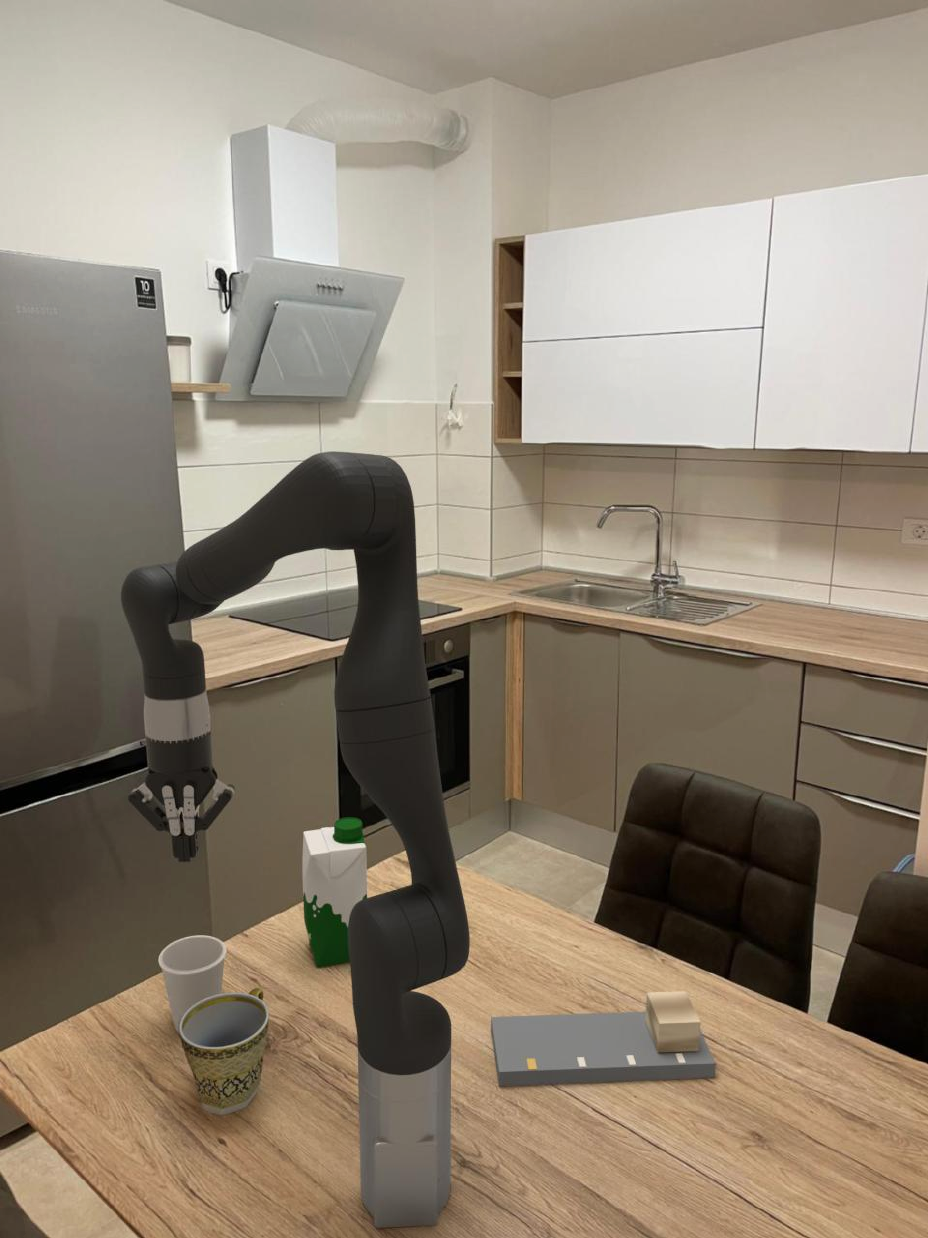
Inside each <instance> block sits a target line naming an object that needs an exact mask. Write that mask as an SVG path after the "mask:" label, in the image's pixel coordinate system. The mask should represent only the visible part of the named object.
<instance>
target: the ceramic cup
mask: <svg viewBox="0 0 928 1238" xmlns="http://www.w3.org/2000/svg"><path fill="white" fill-rule="evenodd" d="M269 1011H270V1010H269V1008H268V1007H267V1005H266V1004H265V1002H264V992H263V990H262V989H261V988H258V987H255V988H253V989H251V990H250V991H249V992H248V993H244V992H238V991H237V992H233V991H232V992H223V993H222V994H217V995H213V996H210V997H208V998H205V999H203V1000H201V1001H199V1002H197V1003H196V1004H194V1005H193V1006H191V1007H190V1008H189V1009H188V1010H187V1011H186V1012H185V1013H184V1014H183V1016H182V1017H181V1019H180V1022H179V1026H178V1030H179V1032H178V1034H179V1037H180V1043H181V1045H182V1049H183V1052H184V1055H185V1058H186V1060H187V1063H188V1065H189V1068H190V1069H191V1072H192V1076H193V1078H194V1082H195V1087H196V1091H197V1094H198V1097H199V1101H200V1104H201V1108H202V1109H203V1111H205V1112H209V1113H212V1114H216V1115H219V1116H225V1115H228V1114H231V1113H235V1112H237V1111H241V1110H244V1109H246V1108H247V1106H249V1104H250V1103H251V1102H252V1100H254V1098H255V1096H257V1093H258V1091H259V1088H260V1082H261V1076H262V1075H261V1074H262V1069H263V1061H264V1054H265V1049H266V1043H267V1039H268V1031H269V1023H270V1022H269V1020H270V1019H269V1018H270V1012H269Z"/></svg>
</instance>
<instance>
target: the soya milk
mask: <svg viewBox="0 0 928 1238" xmlns="http://www.w3.org/2000/svg"><path fill="white" fill-rule="evenodd" d="M363 830H364V829H363V822H362V820H361V819H359V818H357V817H349V816H348V817H342V818H338V819H337V820H336V821H335V822H334V824H333V826H330V827H328V826H326V827H321V828H319V829H313V830H306V831H303V832H302V833H303V837H302V862H301V864H302V865H301V868H302V869H301V872H302V897H303V901H302V902H303V903H302V904H303V920H304V925H305V929H306V934H307V936H308V940H309V944H310V947H311V952H312V956H313V959H314V963H315V967H316V968H317V969H318V968H323V967H324V968H325V967H329V966H330V967H331V966H336V965H342V964H347V963H350V959H349V948H348V922H349V917H350V913H351V911H352V909H353V907H354V906H355V904H356V903H358V902H359V901H361V900H363V899H366V898H368V875H367V873H368V869H367V868H368V867H367V864H368V863H367V846H366V841H365V835H364V833H363Z"/></svg>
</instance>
